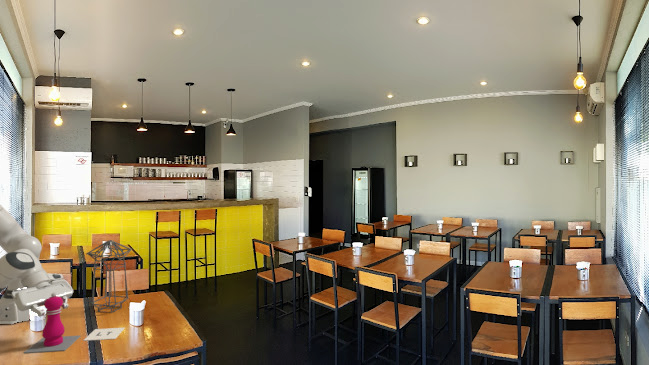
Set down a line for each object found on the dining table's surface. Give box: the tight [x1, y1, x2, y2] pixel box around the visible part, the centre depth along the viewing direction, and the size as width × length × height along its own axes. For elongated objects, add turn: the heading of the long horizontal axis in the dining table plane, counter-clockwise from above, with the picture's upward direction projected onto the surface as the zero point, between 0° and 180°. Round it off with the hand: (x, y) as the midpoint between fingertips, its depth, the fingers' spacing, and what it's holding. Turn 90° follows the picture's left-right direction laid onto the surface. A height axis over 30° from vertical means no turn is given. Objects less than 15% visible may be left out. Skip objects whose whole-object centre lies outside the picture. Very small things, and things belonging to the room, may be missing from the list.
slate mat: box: [22, 335, 81, 354], centre depth 155 cm, size 14×14×1 cm
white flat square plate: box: [82, 327, 125, 342], centre depth 166 cm, size 12×12×1 cm
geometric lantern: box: [86, 239, 133, 314], centre depth 196 cm, size 16×16×35 cm
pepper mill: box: [41, 293, 65, 347], centre depth 155 cm, size 7×7×20 cm
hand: (54, 311), depth 155 cm, fingers open, 8 cm apart
